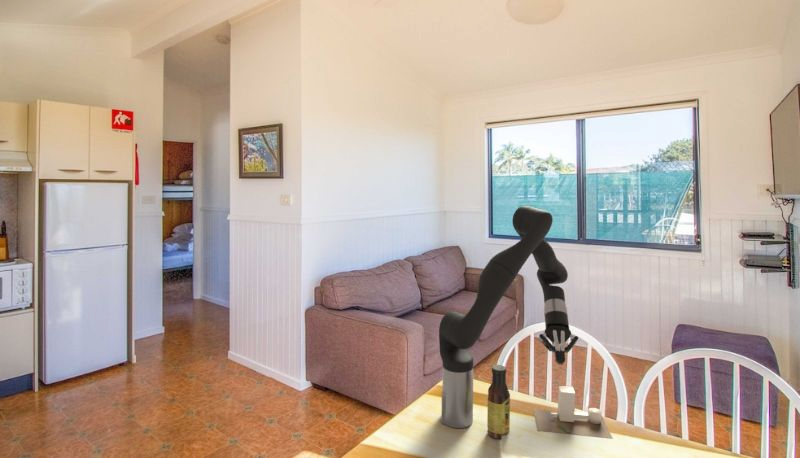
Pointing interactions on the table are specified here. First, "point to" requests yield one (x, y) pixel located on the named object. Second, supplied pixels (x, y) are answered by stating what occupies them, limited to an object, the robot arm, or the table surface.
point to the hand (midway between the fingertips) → (560, 363)
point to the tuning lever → (573, 407)
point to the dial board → (569, 425)
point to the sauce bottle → (498, 404)
